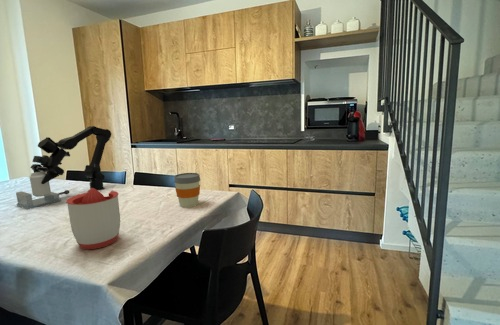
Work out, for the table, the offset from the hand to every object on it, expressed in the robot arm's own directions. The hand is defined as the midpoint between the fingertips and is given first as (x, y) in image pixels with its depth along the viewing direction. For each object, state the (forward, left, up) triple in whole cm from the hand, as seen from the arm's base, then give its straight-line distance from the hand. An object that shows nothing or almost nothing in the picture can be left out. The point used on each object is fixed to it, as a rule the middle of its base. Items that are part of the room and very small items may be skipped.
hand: (37, 183), depth 137 cm
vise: (-4, -7, -12) cm, 14 cm away
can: (-1, -1, -7) cm, 7 cm away
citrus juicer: (-7, +70, -12) cm, 71 cm away
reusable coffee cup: (-51, +60, -12) cm, 79 cm away
